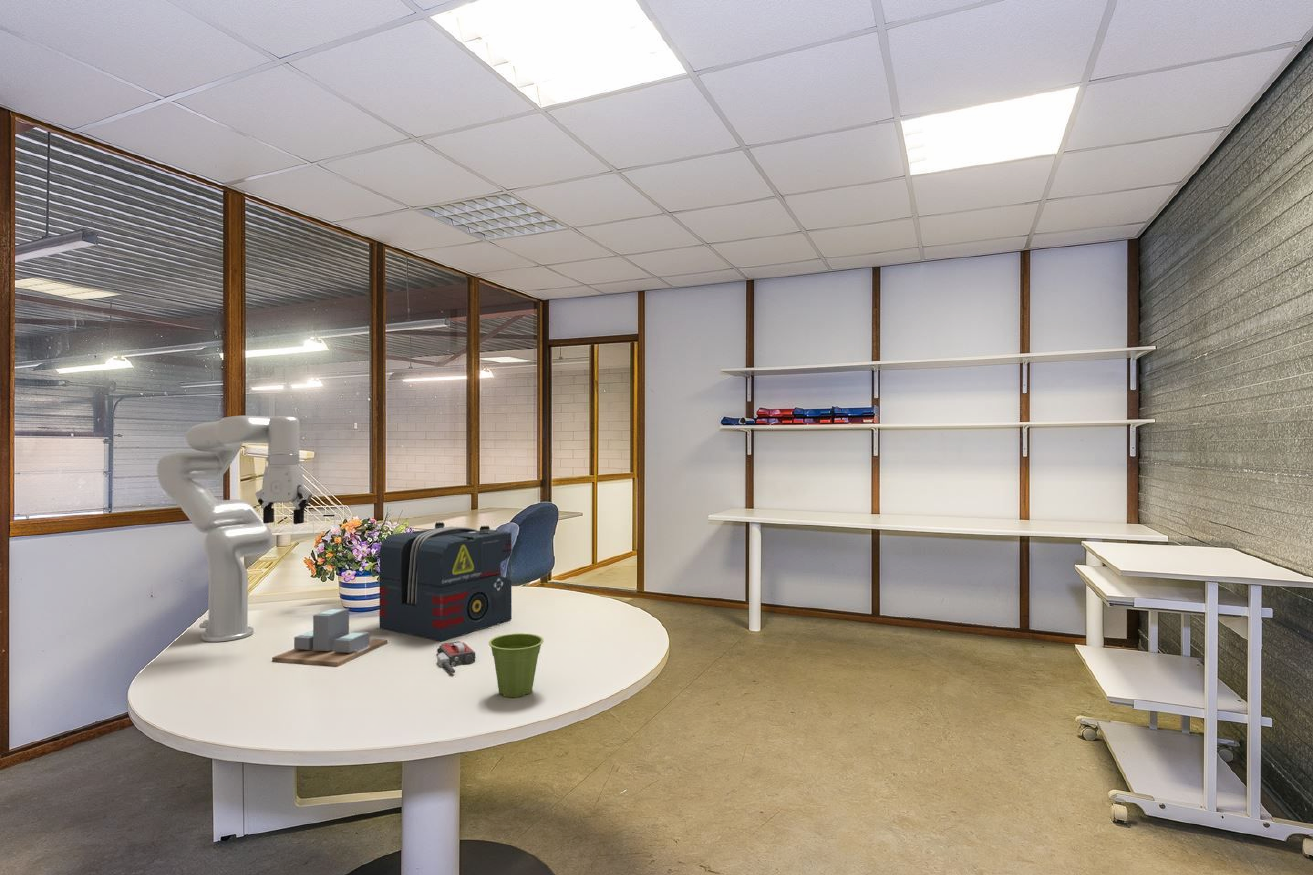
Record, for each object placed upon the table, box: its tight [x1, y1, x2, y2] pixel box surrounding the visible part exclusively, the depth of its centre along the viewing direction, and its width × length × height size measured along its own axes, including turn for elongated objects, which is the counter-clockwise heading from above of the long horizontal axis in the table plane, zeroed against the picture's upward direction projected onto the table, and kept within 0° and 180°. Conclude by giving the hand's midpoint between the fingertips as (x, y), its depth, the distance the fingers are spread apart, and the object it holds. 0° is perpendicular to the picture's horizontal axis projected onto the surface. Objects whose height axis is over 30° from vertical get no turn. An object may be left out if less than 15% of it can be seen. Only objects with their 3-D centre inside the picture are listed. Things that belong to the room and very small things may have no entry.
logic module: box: [312, 607, 350, 651], centre depth 175 cm, size 4×8×9 cm, turn 168°
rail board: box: [271, 630, 388, 667], centre depth 175 cm, size 19×20×5 cm
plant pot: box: [488, 632, 545, 698], centre depth 146 cm, size 12×12×11 cm
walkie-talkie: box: [436, 640, 476, 674], centre depth 167 cm, size 9×4×20 cm
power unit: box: [378, 521, 513, 642], centre depth 203 cm, size 28×28×30 cm
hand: (283, 523), depth 183 cm, fingers open, 9 cm apart
